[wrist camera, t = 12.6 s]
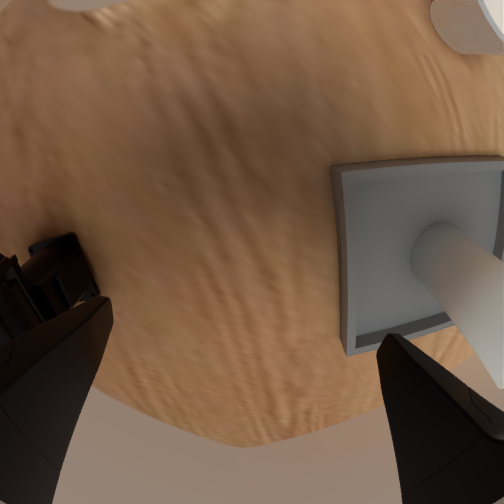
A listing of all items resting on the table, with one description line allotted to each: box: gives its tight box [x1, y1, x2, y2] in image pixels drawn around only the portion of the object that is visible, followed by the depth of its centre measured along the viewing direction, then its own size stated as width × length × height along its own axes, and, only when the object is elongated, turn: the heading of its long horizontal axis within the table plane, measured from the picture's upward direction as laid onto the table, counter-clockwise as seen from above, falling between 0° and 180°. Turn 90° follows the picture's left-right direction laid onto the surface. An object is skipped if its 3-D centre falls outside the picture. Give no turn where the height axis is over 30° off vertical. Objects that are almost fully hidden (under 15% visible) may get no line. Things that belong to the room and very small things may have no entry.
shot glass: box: [429, 0, 504, 55], centre depth 10 cm, size 7×7×7 cm
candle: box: [410, 222, 504, 389], centre depth 15 cm, size 6×6×13 cm
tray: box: [331, 156, 504, 357], centre depth 20 cm, size 18×16×2 cm
